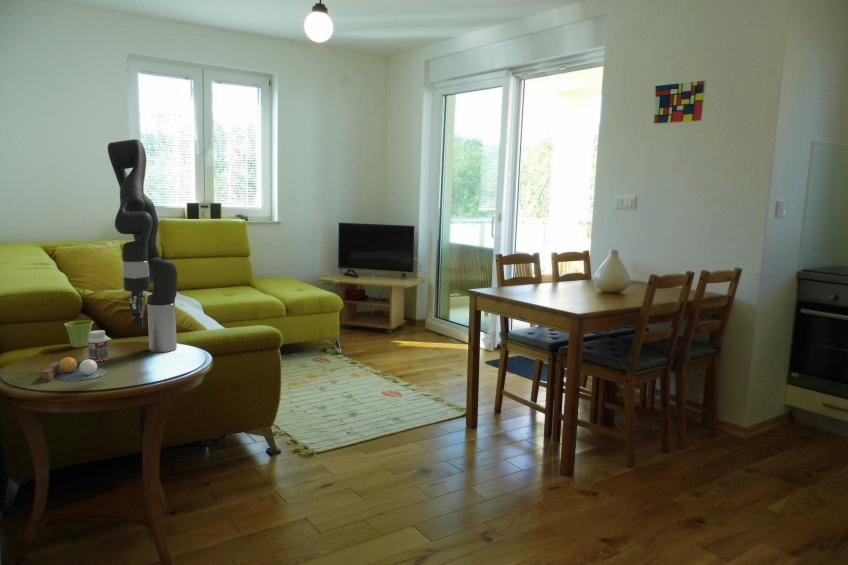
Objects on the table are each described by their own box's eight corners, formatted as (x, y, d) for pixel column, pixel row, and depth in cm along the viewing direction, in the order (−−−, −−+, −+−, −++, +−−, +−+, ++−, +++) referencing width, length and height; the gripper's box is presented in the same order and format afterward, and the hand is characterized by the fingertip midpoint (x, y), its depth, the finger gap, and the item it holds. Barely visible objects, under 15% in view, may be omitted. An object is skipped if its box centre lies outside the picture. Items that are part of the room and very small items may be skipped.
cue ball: (91, 373, 197) (78, 363, 195) (102, 363, 197) (89, 353, 194) (87, 381, 192) (73, 371, 190) (98, 370, 192) (84, 361, 190)
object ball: (66, 374, 198) (59, 360, 197) (82, 367, 199) (75, 353, 198) (60, 376, 193) (54, 362, 192) (77, 370, 194) (70, 355, 193)
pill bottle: (100, 362, 207) (98, 334, 206) (85, 361, 208) (83, 333, 207) (111, 358, 213) (110, 330, 212) (97, 357, 214) (95, 329, 213)
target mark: (64, 369, 199) (63, 368, 199) (111, 367, 203) (111, 366, 203) (50, 382, 186) (50, 381, 186) (101, 379, 189) (101, 379, 189)
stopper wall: (54, 370, 197) (53, 361, 197) (61, 370, 198) (60, 361, 198) (42, 381, 186) (41, 372, 186) (49, 381, 187) (48, 371, 186)
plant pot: (61, 349, 223) (60, 326, 222) (71, 343, 232) (69, 320, 231) (90, 348, 225) (88, 325, 224) (98, 342, 234) (96, 320, 233)
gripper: (127, 272, 200) (130, 325, 202) (118, 278, 187) (121, 334, 189) (152, 272, 201) (154, 324, 204) (145, 277, 189) (148, 333, 191)
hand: (138, 329), depth 197 cm, fingers closed
